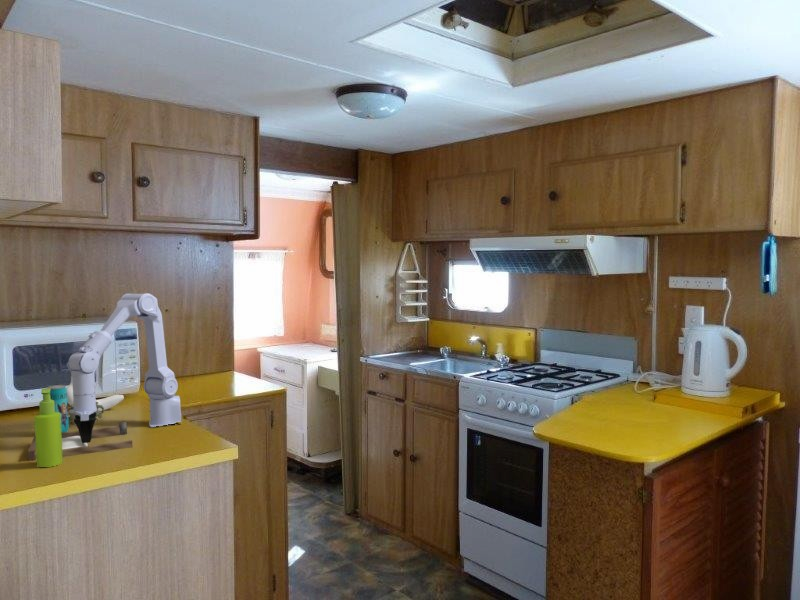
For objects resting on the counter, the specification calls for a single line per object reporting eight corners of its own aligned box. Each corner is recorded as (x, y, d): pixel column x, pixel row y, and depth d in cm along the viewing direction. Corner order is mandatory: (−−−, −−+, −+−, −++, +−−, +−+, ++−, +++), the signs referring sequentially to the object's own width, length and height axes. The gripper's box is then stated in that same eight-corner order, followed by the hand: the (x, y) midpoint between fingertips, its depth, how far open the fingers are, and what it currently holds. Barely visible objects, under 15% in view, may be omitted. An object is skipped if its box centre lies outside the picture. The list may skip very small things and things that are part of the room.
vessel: (65, 427, 201) (64, 408, 200) (64, 422, 208) (63, 403, 208) (106, 422, 207) (105, 403, 206) (103, 417, 214) (102, 399, 214)
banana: (124, 410, 225) (123, 370, 224) (65, 417, 215) (63, 375, 215) (123, 407, 229) (121, 368, 228) (65, 414, 219) (63, 373, 219)
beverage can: (59, 437, 188) (57, 388, 188) (43, 436, 189) (41, 388, 189) (73, 432, 194) (71, 384, 193) (57, 431, 195) (55, 384, 194)
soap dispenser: (36, 470, 156) (31, 392, 155) (37, 463, 162) (33, 387, 161) (62, 466, 158) (58, 389, 158) (63, 459, 165) (59, 385, 164)
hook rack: (129, 432, 192) (129, 421, 192) (132, 447, 175) (132, 434, 175) (35, 443, 181) (34, 432, 181) (28, 460, 164) (27, 447, 164)
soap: (55, 454, 171) (54, 444, 171) (47, 450, 175) (46, 440, 175) (89, 447, 177) (88, 437, 177) (80, 443, 182) (80, 433, 182)
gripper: (69, 391, 182) (72, 436, 183) (67, 399, 169) (69, 448, 170) (96, 388, 185) (98, 433, 186) (95, 397, 172) (98, 445, 173)
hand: (86, 440), depth 178 cm, fingers open, 4 cm apart
